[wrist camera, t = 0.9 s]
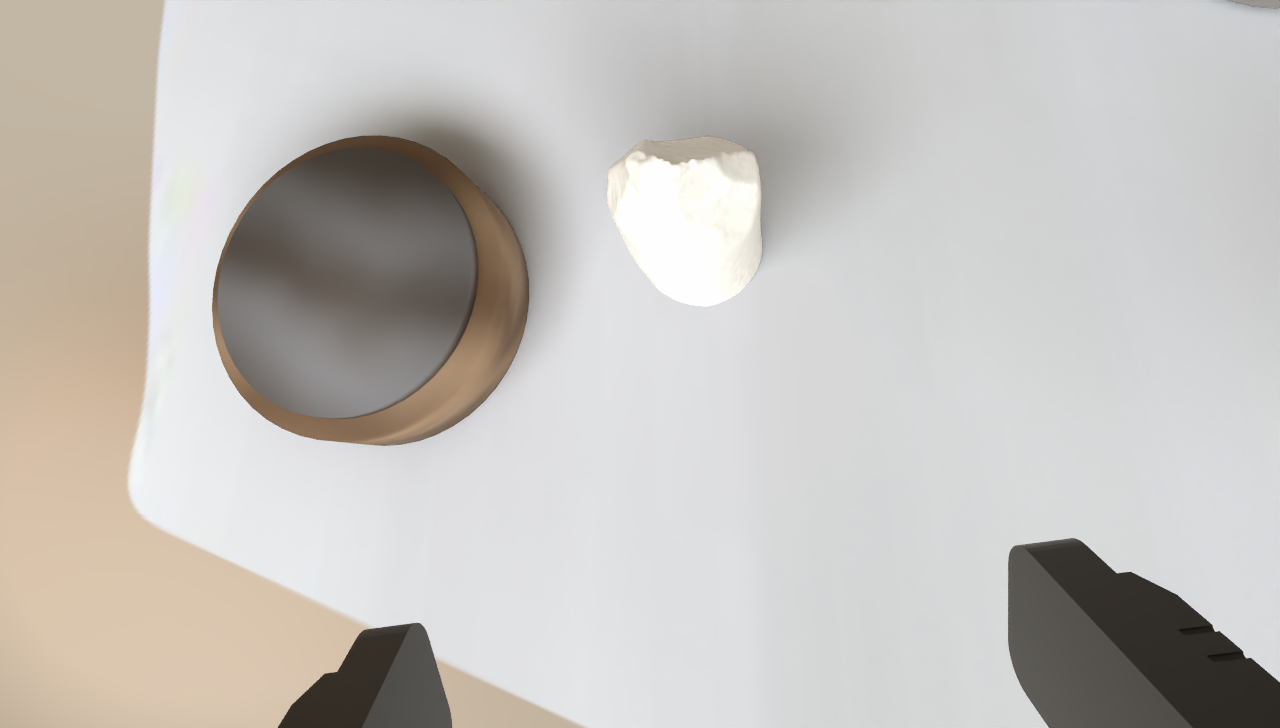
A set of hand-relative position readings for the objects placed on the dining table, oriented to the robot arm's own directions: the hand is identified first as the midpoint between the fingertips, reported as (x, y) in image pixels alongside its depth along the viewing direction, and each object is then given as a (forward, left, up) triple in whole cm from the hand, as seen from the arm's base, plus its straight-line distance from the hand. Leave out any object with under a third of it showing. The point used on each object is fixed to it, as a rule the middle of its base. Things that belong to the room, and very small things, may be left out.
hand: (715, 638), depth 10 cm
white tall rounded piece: (-13, -4, -23) cm, 27 cm away
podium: (-9, -20, -23) cm, 32 cm away
